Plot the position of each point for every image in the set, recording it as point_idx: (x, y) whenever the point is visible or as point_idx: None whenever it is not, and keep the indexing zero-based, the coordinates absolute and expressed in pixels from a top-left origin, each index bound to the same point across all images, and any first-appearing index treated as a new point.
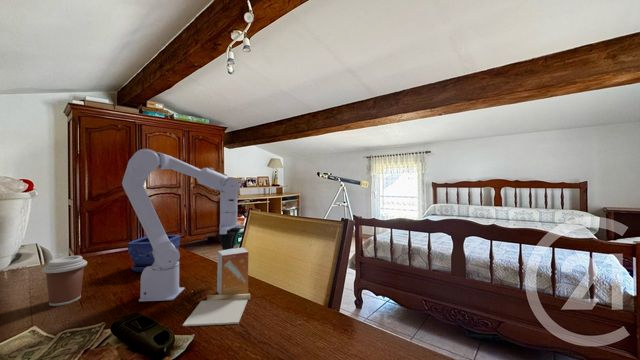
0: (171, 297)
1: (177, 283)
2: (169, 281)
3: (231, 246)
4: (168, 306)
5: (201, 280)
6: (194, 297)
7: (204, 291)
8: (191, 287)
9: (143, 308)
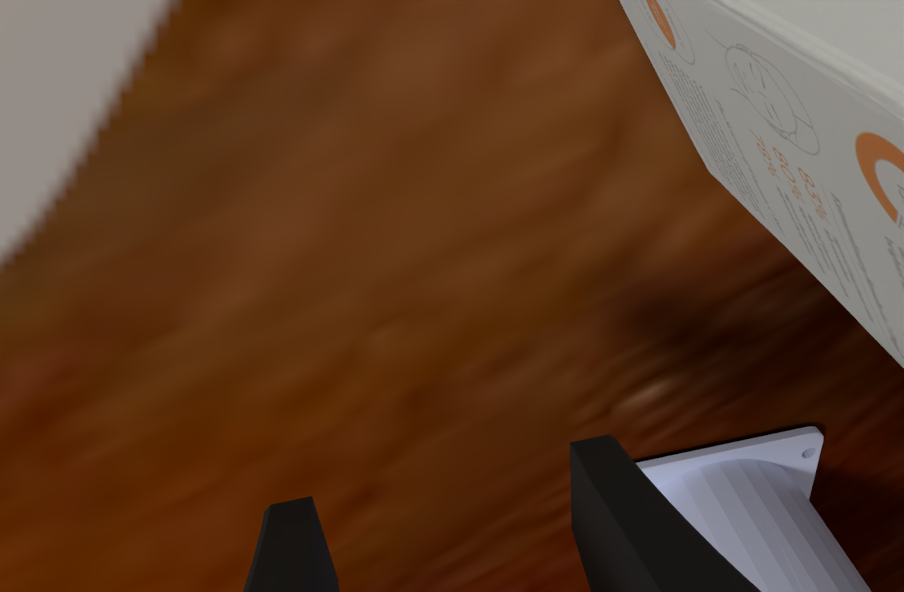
0: (797, 452)
1: (766, 527)
2: (858, 575)
3: (322, 572)
4: (901, 394)
5: (398, 450)
6: (791, 310)
7: (675, 295)
8: (568, 439)
9: (879, 503)
